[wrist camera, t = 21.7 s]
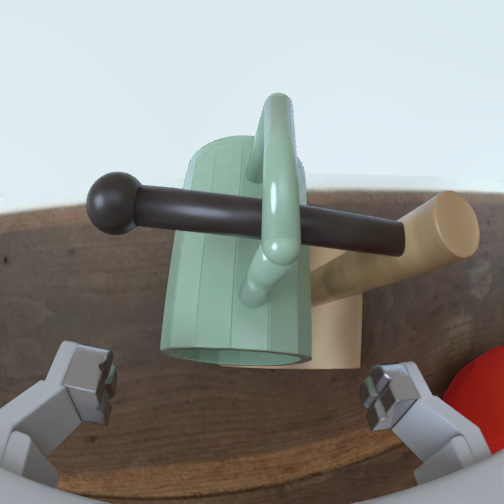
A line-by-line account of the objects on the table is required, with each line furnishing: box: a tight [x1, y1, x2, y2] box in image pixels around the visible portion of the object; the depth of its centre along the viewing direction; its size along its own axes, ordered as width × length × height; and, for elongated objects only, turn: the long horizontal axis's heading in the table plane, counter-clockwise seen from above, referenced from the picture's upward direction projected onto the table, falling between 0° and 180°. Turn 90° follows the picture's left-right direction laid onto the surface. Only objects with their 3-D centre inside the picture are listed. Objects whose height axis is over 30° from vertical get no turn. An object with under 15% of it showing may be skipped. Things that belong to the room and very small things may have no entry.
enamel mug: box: [160, 93, 313, 366], centre depth 12 cm, size 10×6×9 cm
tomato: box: [442, 345, 504, 454], centre depth 18 cm, size 11×13×10 cm
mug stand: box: [86, 172, 480, 369], centre depth 15 cm, size 15×10×16 cm, turn 86°
